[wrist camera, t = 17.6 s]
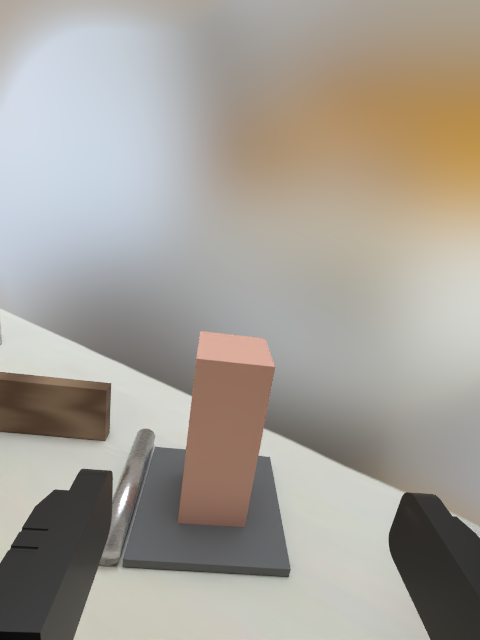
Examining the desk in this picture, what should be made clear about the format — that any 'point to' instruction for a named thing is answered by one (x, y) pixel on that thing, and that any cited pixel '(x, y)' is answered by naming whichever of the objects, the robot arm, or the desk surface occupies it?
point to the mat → (205, 527)
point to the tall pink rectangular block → (225, 428)
